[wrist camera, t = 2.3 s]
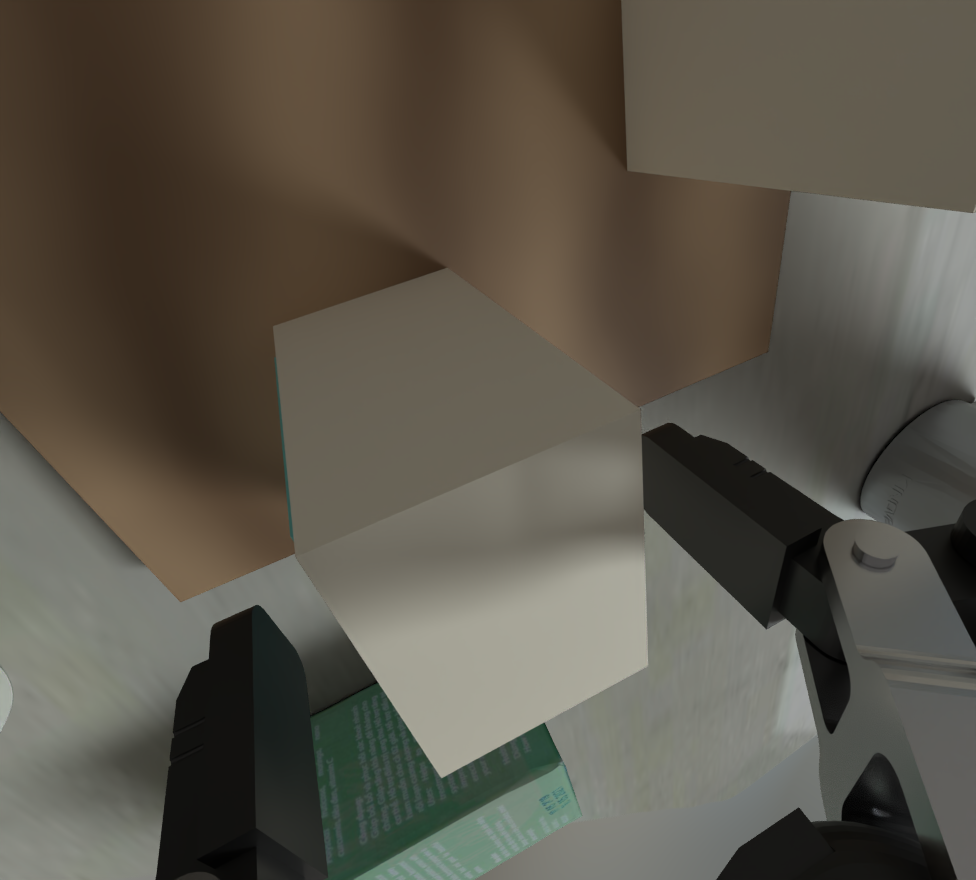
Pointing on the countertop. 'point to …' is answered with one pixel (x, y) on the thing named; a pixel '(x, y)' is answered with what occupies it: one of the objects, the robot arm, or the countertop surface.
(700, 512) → the robot arm
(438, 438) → the carton
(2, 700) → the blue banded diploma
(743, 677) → the countertop surface
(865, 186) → the faced carton
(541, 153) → the board
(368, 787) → the box
